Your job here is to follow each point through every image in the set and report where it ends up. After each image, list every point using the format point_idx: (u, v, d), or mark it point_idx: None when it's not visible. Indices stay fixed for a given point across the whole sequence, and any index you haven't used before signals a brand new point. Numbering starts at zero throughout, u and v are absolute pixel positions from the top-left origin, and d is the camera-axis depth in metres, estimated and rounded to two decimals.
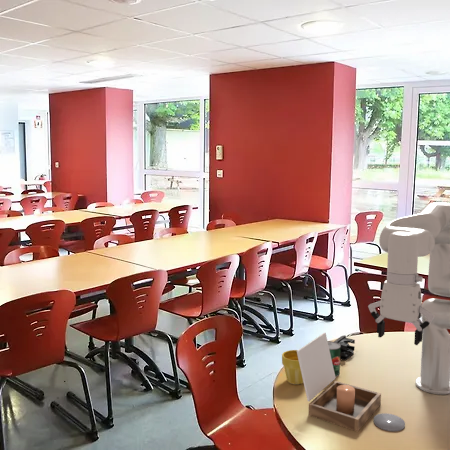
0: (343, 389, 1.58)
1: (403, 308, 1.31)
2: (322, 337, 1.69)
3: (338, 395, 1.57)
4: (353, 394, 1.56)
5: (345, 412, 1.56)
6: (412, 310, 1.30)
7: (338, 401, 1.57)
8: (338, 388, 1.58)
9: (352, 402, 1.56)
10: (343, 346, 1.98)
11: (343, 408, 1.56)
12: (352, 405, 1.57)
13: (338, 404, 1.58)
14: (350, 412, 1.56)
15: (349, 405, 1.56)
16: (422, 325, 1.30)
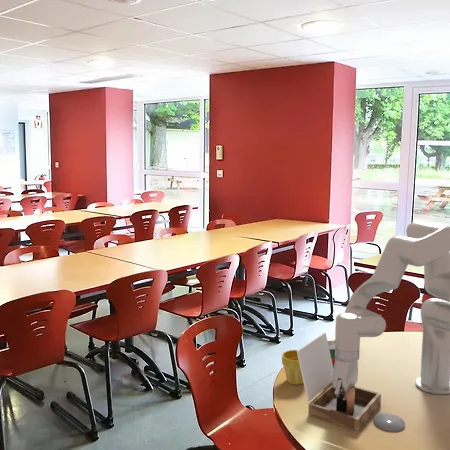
0: (343, 389, 1.58)
1: (355, 375, 1.57)
2: (322, 337, 1.69)
3: None
4: (353, 394, 1.56)
5: (345, 412, 1.56)
6: (357, 373, 1.59)
7: None
8: None
9: (352, 402, 1.56)
10: None
11: None
12: (352, 405, 1.57)
13: None
14: (350, 412, 1.56)
15: (349, 405, 1.56)
16: (353, 386, 1.61)
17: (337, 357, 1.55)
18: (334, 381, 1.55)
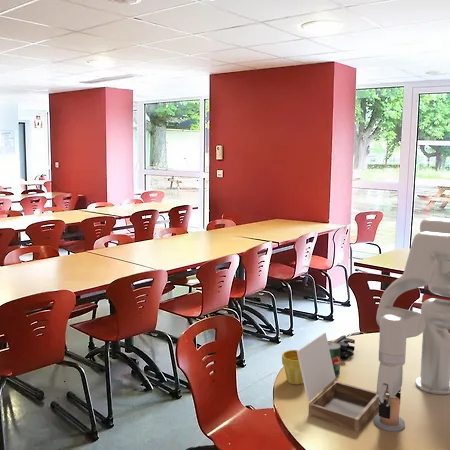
0: None
1: (400, 380, 1.49)
2: (322, 337, 1.69)
3: None
4: (398, 405, 1.48)
5: (390, 424, 1.48)
6: None
7: None
8: None
9: (397, 413, 1.48)
10: (343, 346, 1.98)
11: (388, 419, 1.48)
12: (397, 416, 1.48)
13: None
14: (395, 424, 1.48)
15: (394, 416, 1.48)
16: None
17: (382, 361, 1.47)
18: (379, 386, 1.46)
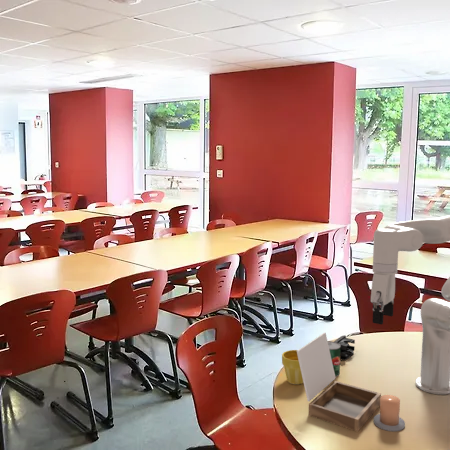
0: (388, 399, 1.50)
1: (393, 290, 1.59)
2: (322, 337, 1.69)
3: (382, 406, 1.49)
4: (398, 405, 1.48)
5: (390, 424, 1.48)
6: (394, 289, 1.61)
7: (382, 411, 1.49)
8: (382, 398, 1.50)
9: (397, 413, 1.48)
10: (343, 346, 1.98)
11: (388, 419, 1.48)
12: (397, 416, 1.48)
13: (382, 415, 1.49)
14: (395, 424, 1.48)
15: (394, 416, 1.48)
16: None
17: (375, 271, 1.57)
18: (373, 294, 1.57)
